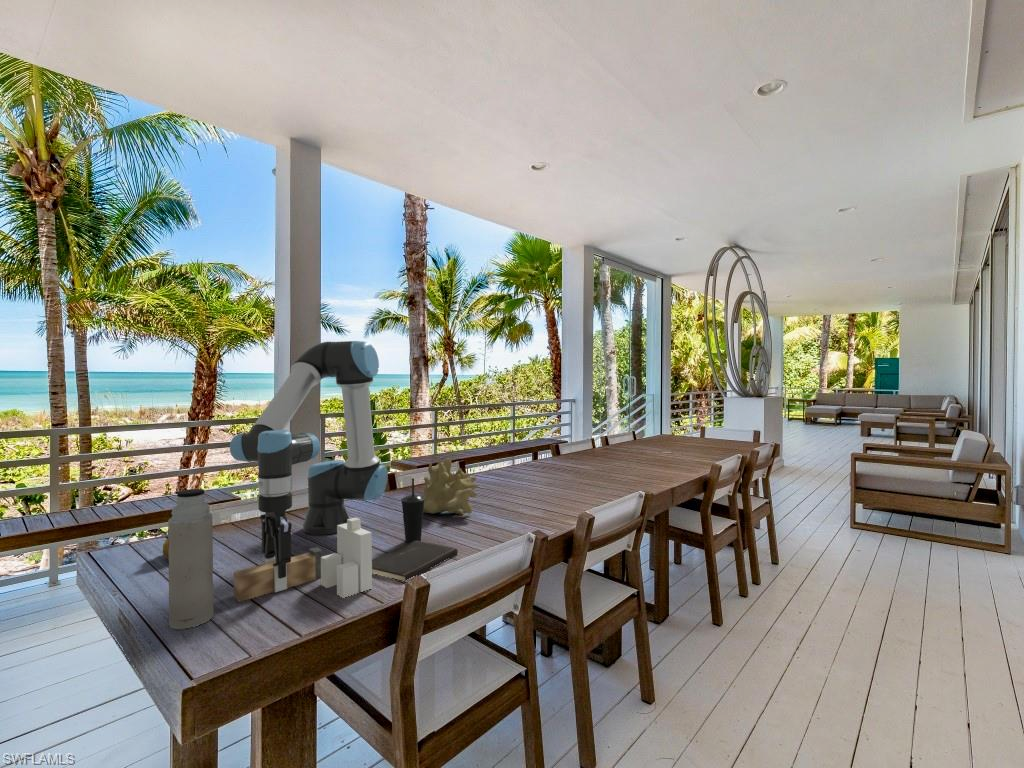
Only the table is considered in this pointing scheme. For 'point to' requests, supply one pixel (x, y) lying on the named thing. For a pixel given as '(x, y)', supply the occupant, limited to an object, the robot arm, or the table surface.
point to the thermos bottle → (190, 561)
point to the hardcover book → (411, 559)
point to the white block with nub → (349, 560)
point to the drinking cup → (413, 515)
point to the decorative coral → (448, 489)
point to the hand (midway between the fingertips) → (276, 586)
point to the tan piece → (262, 576)
